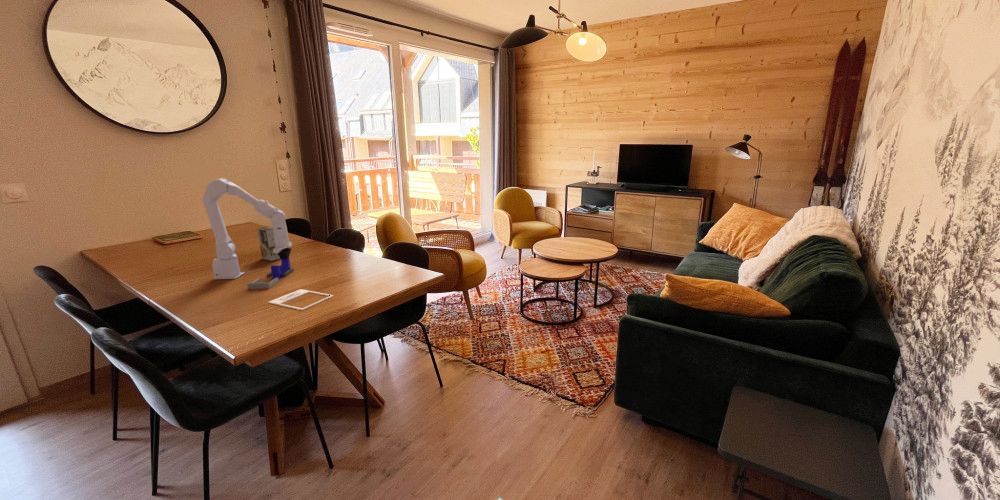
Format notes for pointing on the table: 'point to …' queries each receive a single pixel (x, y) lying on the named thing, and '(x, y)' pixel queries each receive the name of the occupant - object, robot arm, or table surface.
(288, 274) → the guide channel
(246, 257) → the table surface
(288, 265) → the cable clip
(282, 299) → the photo frame
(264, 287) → the bracket
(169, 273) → the table surface
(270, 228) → the coffee box
